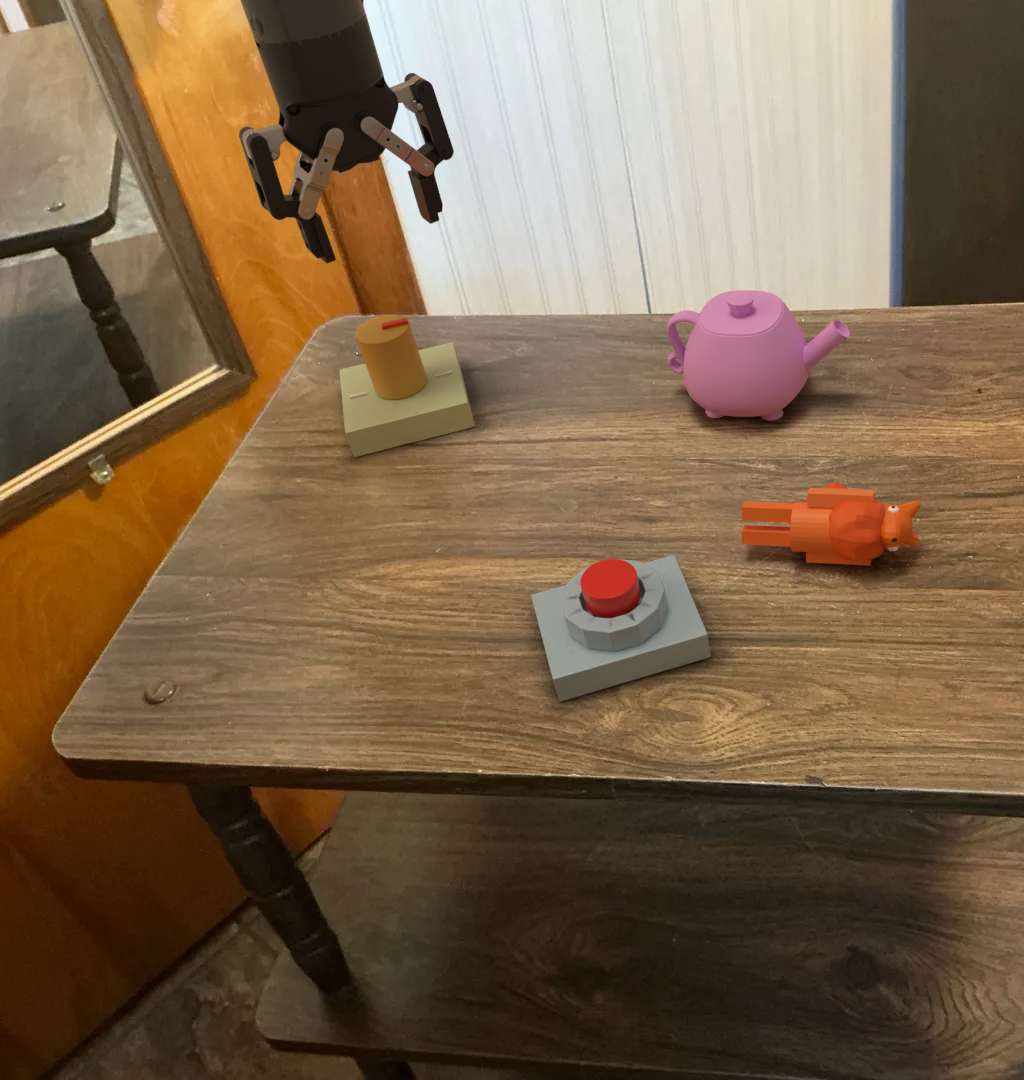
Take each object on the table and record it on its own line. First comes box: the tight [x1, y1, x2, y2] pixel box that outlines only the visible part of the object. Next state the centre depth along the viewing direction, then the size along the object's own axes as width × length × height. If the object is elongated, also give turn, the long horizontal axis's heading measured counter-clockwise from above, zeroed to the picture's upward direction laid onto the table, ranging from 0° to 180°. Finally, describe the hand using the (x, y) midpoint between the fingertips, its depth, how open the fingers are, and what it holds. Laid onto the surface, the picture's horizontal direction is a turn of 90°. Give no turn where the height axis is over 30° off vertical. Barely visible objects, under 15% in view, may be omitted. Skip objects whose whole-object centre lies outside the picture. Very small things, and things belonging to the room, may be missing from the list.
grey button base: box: [530, 554, 712, 702], centre depth 74 cm, size 10×8×4 cm
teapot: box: [666, 289, 851, 422], centre depth 91 cm, size 10×15×9 cm
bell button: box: [580, 558, 641, 618], centre depth 72 cm, size 4×4×2 cm
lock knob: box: [354, 313, 427, 400], centre depth 94 cm, size 4×4×6 cm
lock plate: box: [338, 341, 476, 458], centre depth 97 cm, size 10×10×3 cm
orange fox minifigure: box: [741, 482, 921, 566], centre depth 78 cm, size 5×8×12 cm
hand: (379, 238), depth 87 cm, fingers open, 8 cm apart
